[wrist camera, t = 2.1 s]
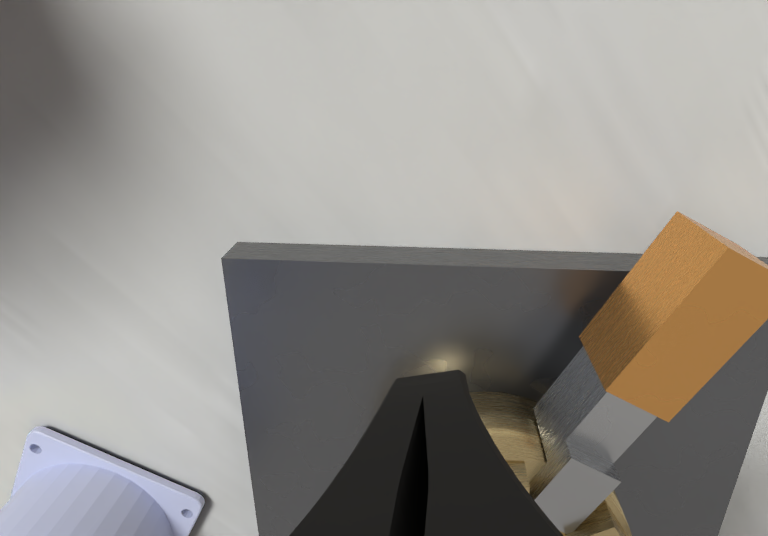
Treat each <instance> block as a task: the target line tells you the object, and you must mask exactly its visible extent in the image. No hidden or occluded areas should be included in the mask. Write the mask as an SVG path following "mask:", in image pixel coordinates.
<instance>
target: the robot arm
mask: <svg viewBox="0 0 768 536" xmlns="http://www.w3.org/2000/svg"><path fill="white" fill-rule="evenodd" d="M204 503H205V501H204V498H203V497H202V496H201V495H200V494H199V493H197V492H194V491H192V490H190V489H188V488H185V487H183V486H181V485H178V484H176V483H174V482H171V481H169V480H167V479H164V478H162V477H160V476H157V475H155V474H153V473H150V472H148V471H146V470H143V469H141V468H139V467H137V466H134V465H132V464H130V463H127V462H125V461H123V460H120V459H118V458H116V457H113V456H111V455H109V454H106V453H104V452H102V451H99V450H97V449H95V448H92V447H90V446H88V445H86V444H83V443H81V442H79V441H76V440H74V439H72V438H69V437H67V436H65V435H62V434H60V433H58V432H55V431H53V430H51V429H48V428H46V427H42V426H37V427H35V428H33V429H32V430H31V431H30V432H29V434H28V435H27V438H26V442H25V446H24V449H23V453H22V457H21V460H20V464H19V468H18V471H17V475H16V479H15V482H14V486H13V490H12V493H11V497H10V500H9V501H8V502H7V503H6V504H5V505H4V506H3V507H2V508H1V509H0V536H189V534H190V532H191V530H192V528H193V526H194V524H195V522H196V520H197V518H198V516H199V514H200V512H201V510H202V508H203V506H204ZM289 536H563V534H562V533H561V532H560V531H559V530H558V529H557V527H556V526H555V525H554V524H553V523H552V522H551V520H550V519H549V518H548V517H547V516H546V514H545V513H544V512H543V511H542V509H541V508H540V507H539V506H538V504H537V503H536V502H535V501H534V499H533V498H532V497H531V495H530V494H529V493H528V492H527V490H526V489H525V488H524V486H523V485H522V483H521V482H520V481H519V479H518V478H517V476H516V475H515V473H514V472H513V471H512V469H511V468H510V466H509V465H508V463H507V462H506V460H505V459H504V457H503V456H502V454H501V452H500V451H499V449H498V448H497V446H496V445H495V443H494V441H493V439H492V438H491V436H490V434H489V432H488V430H487V429H486V427H485V425H484V423H483V422H482V420H481V418H480V416H479V414H478V412H477V410H476V407H475V405H474V403H473V401H472V398H471V396H470V393H469V389H468V384H467V379H466V374H465V373H463V372H462V371H460V370H452V371H445V372H438V373H431V374H424V375H417V376H410V377H403V378H397V379H396V380H395V381H394V382H393V384H392V385H391V387H390V389H389V391H388V393H387V394H386V396H385V398H384V400H383V402H382V404H381V405H380V407H379V409H378V411H377V412H376V414H375V416H374V417H373V419H372V421H371V423H370V424H369V426H368V428H367V429H366V431H365V432H364V434H363V436H362V437H361V439H360V440H359V442H358V444H357V445H356V447H355V448H354V450H353V452H352V453H351V455H350V456H349V458H348V459H347V461H346V462H345V464H344V465H343V466H342V468H341V469H340V471H339V472H338V473H337V475H336V476H335V478H334V479H333V480H332V482H331V483H330V485H329V486H328V488H327V489H326V490H325V492H324V493H323V494H322V496H321V497H320V498H319V500H318V501H317V502H316V504H315V505H314V506H313V507H312V509H311V510H310V511H309V512H308V514H307V515H306V516H305V517H304V519H303V520H302V521H301V522H300V523H299V524H298V526H297V527H296V528H295V529H294V530H293V532H292V533H291V534H290V535H289Z"/></svg>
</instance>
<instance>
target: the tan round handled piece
mask: <svg viewBox="0 0 768 536" xmlns="http://www.w3.org/2000/svg"><path fill="white" fill-rule="evenodd" d="M767 319H768V265H767V264H765V263H764V262H762V261H761V260H759V259H758V258H757V257H755V256H754V255H752V254H751V253H749V252H748V251H746V250H745V249H743V248H742V247H740V246H739V245H737V244H736V243H734V242H732V241H730V240H729V239H727V238H725V237H723V236H721V235H719V234H718V233H716V232H714V231H712V230H710V229H709V228H707V227H705V226H703V225H701V224H699V223H698V222H696V221H694V220H692V219H690V218H689V217H687V216H685V215H683V214H681V213H679V212H678V211H677V212H676V214H675V215H674V216H673V217H672V219H671V220H670V221H669V222H668V224H667V225H666V226H665V227H664V229H663V230H662V231H661V233H660V234H659V235H658V236H657V238H656V239H655V240H654V241H653V243H652V244H651V245H650V246H649V248H648V249H647V250H646V252H645V253H644V254H643V255H642V257H641V258H640V259H639V260H638V262H637V263H636V264H635V266H634V267H633V268H632V269H631V271H630V272H629V273H628V274H627V276H626V277H625V278H624V279H623V281H622V282H621V283H620V285H619V286H618V287H617V288H616V290H615V291H614V292H613V293H612V295H611V296H610V297H609V298H608V300H607V301H606V302H605V304H604V305H603V306H602V307H601V309H600V310H599V311H598V312H597V314H596V315H595V316H594V318H593V319H592V320H591V321H590V323H589V324H588V325H587V326H586V328H585V329H584V330H583V331H582V333H581V334H580V335H579V338H580V340H581V342H582V344H583V347H582V348H581V349H580V350H579V352H578V353H577V354H576V355H575V357H574V358H573V359H572V360H571V362H570V363H569V364H568V365H567V367H566V368H565V369H564V370H563V372H562V373H561V374H560V375H559V377H558V378H557V379H556V380H555V382H554V383H553V384H552V385H551V387H550V388H549V389H548V390H547V392H546V393H545V394H544V395H543V397H542V398H541V399H540V400H539V402H538V401H535V400H532V399H528V398H525V397H522V396H518V395H512V394H506V393H498V392H469V393H470V396H471V398H472V401H473V403H474V405H475V407H476V410H477V412H478V414H479V416H480V418H481V420H482V422H483V423H484V425H485V427H486V429H487V430H488V432H489V434H490V436H491V438H492V439H493V441H494V443H495V445H496V446H497V448H498V449H499V451H500V452H501V454H502V456H503V457H504V459H505V460H506V462H507V463H508V465H509V466H510V468H511V469H512V471H513V472H514V473H515V475H516V476H517V478H518V479H519V481H520V482H521V483H522V485H523V486H524V488H525V489H526V490H527V492H528V493H529V494H530V495H531V497H532V498H533V499H534V501H535V502H536V503H537V504H538V506H539V507H540V508H541V509H542V511H543V512H544V513H545V514H546V516H547V517H548V518H549V519H550V520H551V522H552V523H553V524H554V525H555V526H556V527H557V529H558V530H559V531H560V532H561V533H562V534H563V536H632V534H631V531H630V528H629V525H628V523H627V520H626V518H625V515H624V513H623V510H622V508H621V505H620V503H619V500H618V498H617V495H616V493H615V490H614V489H615V488H616V487H617V486H618V485H619V484H620V483H621V480H620V478H619V475H618V473H617V470H616V468H615V466H614V462H615V461H616V460H617V459H618V458H619V457H620V456H621V455H622V454H623V453H624V452H625V451H626V450H627V448H628V447H629V446H630V445H631V444H632V443H633V442H634V441H635V440H636V439H637V438H638V437H639V436H640V435H641V434H642V432H643V431H644V430H645V429H646V428H647V427H648V426H649V425H650V424H651V423H652V422H653V421H654V420H655V419H656V418H657V417H659V418H661V419H663V420H665V421H667V422H670V420H671V419H672V418H673V417H674V416H675V415H676V414H677V413H678V412H679V411H680V410H681V409H682V408H683V407H684V406H685V405H686V404H687V403H688V402H689V401H690V400H691V399H692V398H693V396H694V395H695V394H696V393H697V392H698V391H699V390H700V389H701V388H702V387H703V386H704V385H705V384H706V383H707V382H708V381H709V380H710V379H711V378H712V377H713V376H714V375H715V373H716V372H717V371H718V370H719V369H720V368H721V367H722V366H723V365H724V364H725V363H726V362H727V361H728V360H729V359H730V358H731V357H732V356H733V355H734V354H735V353H736V352H737V351H738V349H739V348H740V347H741V346H742V345H743V344H744V343H745V342H746V341H747V340H748V339H749V338H750V337H751V336H752V335H753V334H754V333H755V332H756V331H757V330H758V329H759V328H760V327H761V325H762V324H763V323H764V322H765V321H766V320H767Z"/></svg>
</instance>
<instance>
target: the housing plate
mask: <svg viewBox="0 0 768 536" xmlns="http://www.w3.org/2000/svg"><path fill="white" fill-rule="evenodd" d="M642 255H643V254H627V253H592V252H557V251H523V250H488V249H453V248H419V247H384V246H349V245H315V244H280V243H245V242H237V243H236V244H235V245H234V246H233V247H232V248H231V249H230V250H229V251H228V252H227V253H226V254H225V255H224V256H223V257H222V258H221V259H222V266H223V274H224V281H225V288H226V296H227V303H228V311H229V318H230V325H231V333H232V340H233V347H234V355H235V362H236V370H237V377H238V384H239V392H240V399H241V406H242V414H243V421H244V429H245V436H246V443H247V451H248V458H249V466H250V473H251V480H252V488H253V495H254V502H255V510H256V517H257V525H258V532H259V536H289V535H290V534H291V533H292V532H293V530H294V529H295V528H296V527H297V526H298V524H299V523H300V522H301V521H302V520H303V519H304V517H305V516H306V515H307V514H308V512H309V511H310V510H311V509H312V507H313V506H314V505H315V504H316V502H317V501H318V500H319V498H320V497H321V496H322V494H323V493H324V492H325V490H326V489H327V488H328V486H329V485H330V483H331V482H332V480H333V479H334V478H335V476H336V475H337V473H338V472H339V471H340V469H341V468H342V466H343V465H344V464H345V462H346V461H347V459H348V458H349V456H350V455H351V453H352V452H353V450H354V448H355V447H356V445H357V444H358V442H359V440H360V439H361V437H362V436H363V434H364V432H365V431H366V429H367V428H368V426H369V424H370V423H371V421H372V419H373V417H374V416H375V414H376V412H377V411H378V409H379V407H380V405H381V404H382V402H383V400H384V398H385V396H386V394H387V393H388V391H389V389H390V387H391V385H392V384H393V382H394V381H395V380H396V379H397V378H403V377H410V376H417V375H424V374H431V373H438V372H445V371H452V370H460V371H462V372H463V373H465V374H466V379H467V384H468V389H469V392H498V393H506V394H512V395H518V396H522V397H525V398H528V399H532V400H535V401H538V402H539V400H540V399H541V398H542V397H543V395H544V394H545V393H546V392H547V390H548V389H549V388H550V387H551V385H552V384H553V383H554V382H555V380H556V379H557V378H558V377H559V375H560V374H561V373H562V372H563V370H564V369H565V368H566V367H567V365H568V364H569V363H570V362H571V360H572V359H573V358H574V357H575V355H576V354H577V353H578V352H579V350H580V349H581V348H582V347H583V344H582V342H581V340H580V338H579V335H580V334H581V333H582V331H583V330H584V329H585V328H586V326H587V325H588V324H589V323H590V321H591V320H592V319H593V318H594V316H595V315H596V314H597V312H598V311H599V310H600V309H601V307H602V306H603V305H604V304H605V302H606V301H607V300H608V298H609V297H610V296H611V295H612V293H613V292H614V291H615V290H616V288H617V287H618V286H619V285H620V283H621V282H622V281H623V279H624V278H625V277H626V276H627V274H628V273H629V272H630V271H631V269H632V268H633V267H634V266H635V264H636V263H637V262H638V260H639V259H640V258H641V257H642ZM757 258H758V259H759V260H761V261H762V262H764V263H765V264H767V265H768V258H766V257H757ZM767 391H768V319H767V320H766V321H765V322H764V323H763V324H762V325H761V327H760V328H759V329H758V330H757V331H756V332H755V333H754V334H753V335H752V336H751V337H750V338H749V339H748V340H747V341H746V342H745V343H744V344H743V345H742V346H741V347H740V348H739V349H738V351H737V352H736V353H735V354H734V355H733V356H732V357H731V358H730V359H729V360H728V361H727V362H726V363H725V364H724V365H723V366H722V367H721V368H720V369H719V370H718V371H717V372H716V373H715V375H714V376H713V377H712V378H711V379H710V380H709V381H708V382H707V383H706V384H705V385H704V386H703V387H702V388H701V389H700V390H699V391H698V392H697V393H696V394H695V395H694V396H693V398H692V399H691V400H690V401H689V402H688V403H687V404H686V405H685V406H684V407H683V408H682V409H681V410H680V411H679V412H678V413H677V414H676V415H675V416H674V417H673V418H672V419H671V420H670V422H667V421H665V420H663V419H661V418H659V417H657V418H656V419H655V420H654V421H653V422H652V423H651V424H650V425H649V426H648V427H647V428H646V429H645V430H644V431H643V432H642V434H641V435H640V436H639V437H638V438H637V439H636V440H635V441H634V442H633V443H632V444H631V445H630V446H629V447H628V448H627V450H626V451H625V452H624V453H623V454H622V455H621V456H620V457H619V458H618V459H617V460H616V461H615V462H614V466H615V468H616V470H617V473H618V475H619V478H620V480H621V483H620V484H619V485H618V486H617V487H616V488H615V489H614V490H615V493H616V495H617V498H618V500H619V503H620V505H621V508H622V510H623V513H624V515H625V518H626V520H627V523H628V525H629V528H630V531H631V534H632V536H718V533H719V530H720V527H721V524H722V521H723V518H724V515H725V513H726V510H727V507H728V504H729V501H730V498H731V495H732V492H733V489H734V486H735V484H736V481H737V478H738V475H739V472H740V469H741V466H742V463H743V460H744V458H745V455H746V452H747V449H748V446H749V443H750V440H751V437H752V434H753V431H754V429H755V426H756V423H757V420H758V417H759V414H760V411H761V408H762V405H763V402H764V400H765V397H766V394H767Z"/></svg>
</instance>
